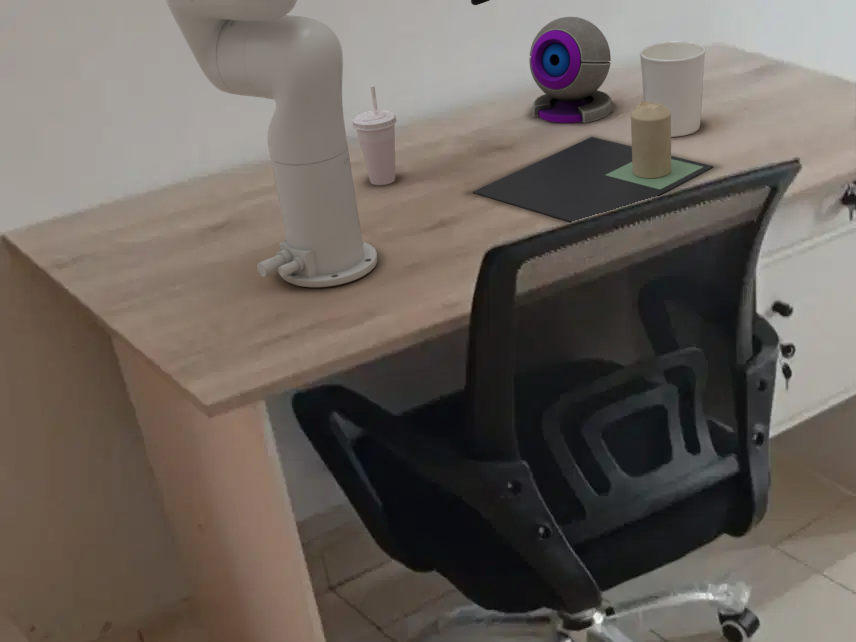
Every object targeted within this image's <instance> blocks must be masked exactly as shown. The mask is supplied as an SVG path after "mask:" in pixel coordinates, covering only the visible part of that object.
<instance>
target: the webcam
mask: <svg viewBox="0 0 856 642" xmlns="http://www.w3.org/2000/svg"><path fill="white" fill-rule="evenodd" d="M611 59H612V58H611V50H610V45H609V42H608V40H607V38H606V37H605V35H604V33H603V32H602V30H601V29H599V27H597V25H596V24H594V23H592V21H589V20H587V19H585V18H582V17H578V16H563V17H558V18H556V19H553V20H551V21H550V22H548V23H547V24H546V25H544V26H543V27H542V28H541V29H540V30H539V31H538V33H537V34H536V35H535V37H534V39H533V41H532V44H531V46H530V50H529V69H530V73H531V76H532V78H533V81H534V82H535V84H536V85H537V87H538V88H539V89H540V90H541V91H542V92H543V93H544V94H541V95H540V96H538V97H537V98H536V99H535V100H534V101H533V102H532V117H534V118H536V117H539V118H540V119H542V120H544V121H547V122H550V123H558V124H564V123H565V124H572V123H573V124H575V123H583V124H586V123H591V122H595V121H598V120H601V119H603V118H605V117H607V116H608V115H610V114H611V112H612V111H613V101H612V97H611V96H610V95H609V94H607V93H606V92H604V91H601V90H598V89H600V87H601V86H602V85H603V84H604V83H605V80H606V79H607V77H608V74H609V72H610V67H611V63H612V60H611Z"/></svg>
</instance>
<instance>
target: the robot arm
mask: <svg viewBox="0 0 856 642" xmlns="http://www.w3.org/2000/svg"><path fill="white" fill-rule="evenodd" d="M297 2H298V0H165V3H166V4H167V7H168V9H169V11H170V13H171V15H172V18H173V19H174V21H175V23H176V24H177V27H178V28H179V30H180V32H181V35H182V36H183V38H184V40H185V42H186V44H187V46H188V47H189V50H190V51H191V54H192V56H193V57H194V59H195V61H196V62H197V64H198V67H199V68H200V70H201V72H202V73H203V74H204V76H205V77H206V79H207V80H208V81H209V82H210V84H212V86H214V88H216V89H218V90H219V91H221V92H224V93H227V94H230V95H231V94H232V95H237V96H243V97H253V98H263V99H264V98H265V99H268V100H274V102H275V108H274V109H275V110H274V113H273V115H272V117H271V120H270V122H269V126H268V129H267V135H266V136H267V137H266V138H267V139H266V140H267V148H268V153H269V158H270V162H271V166H272V173H273V178H274V184H275V189H276V194H277V200H278V204H279V209H280V213H281V214H280V215H281V219H282V220H281V221H282V225H283V231H284V237H285V239H284V240H282V241H280V242H278V245H279V251H277V252H276V253H275V256H273V257H269V258H267V259H264V260H262V261H259V262H258V263H257V264H256V270H257V272H258V274H259V275H260V276H261V277H262V278H266V277H268V276H269V277H270V275H271V276H272V275H273V274H276V273H278V274H279V276H280V278H282V279H283V280H284V281H285V282H287V283H289V284H291V285H294V286H297V287H302V288H328V287H329V288H330V287H334V286H340V285H343V284H348V283H351V282H353V281H356V280H359V279H361V278H363V277H365V276H367V274H369V273H370V272H372V270H373V269H374V268H375V267H376V266H377V264H378V259H379V258H378V253H377V249H376V248H375V247H374V246H373V245H371V244H370V243H368V242H365V241H363V234H362V228H361V223H360V222H361V221H360V214H359V209H358V203H357V197H356V196H357V195H356V189H355V183H354V177H353V170H352V164H351V157H350V151H349V144H348V140H347V133H346V128H345V127H346V126H345V118H344V107H343V75H344V74H343V73H344V55H343V49H342V44H341V41H340V39H339V37H338V36H337V34H336V33H335V32H334V30H333V29H332V28H331V27H329V26H328V25H327V24H325V23H324V22H322V21H320V20H317V19H315V18H311V17H308V16H301V15H292V14H291V15H290V14H289V13H291V11H292V10H293V9H294V8H295V6H296V4H297ZM487 2H490V0H470V3H471V5H473V6H478V5H482V4H484V3H487ZM288 14H289V15H288Z"/></svg>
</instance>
